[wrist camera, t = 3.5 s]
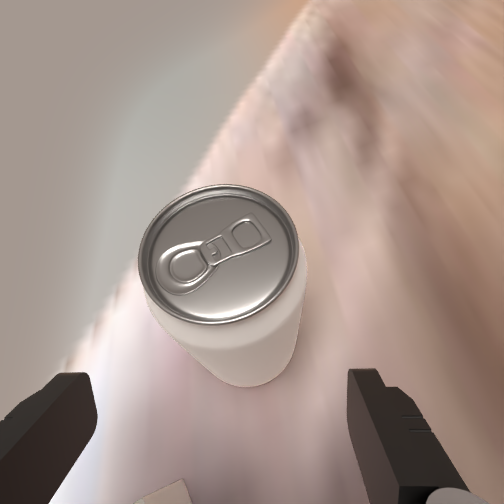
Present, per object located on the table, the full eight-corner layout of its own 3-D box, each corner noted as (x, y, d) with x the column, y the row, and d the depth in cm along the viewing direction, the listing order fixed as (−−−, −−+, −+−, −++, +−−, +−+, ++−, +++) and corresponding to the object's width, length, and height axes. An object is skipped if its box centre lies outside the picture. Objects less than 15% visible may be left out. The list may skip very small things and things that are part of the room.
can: (184, 321, 22) (102, 222, 12) (263, 276, 23) (251, 152, 13) (227, 410, 19) (167, 382, 9) (315, 353, 20) (353, 271, 10)
